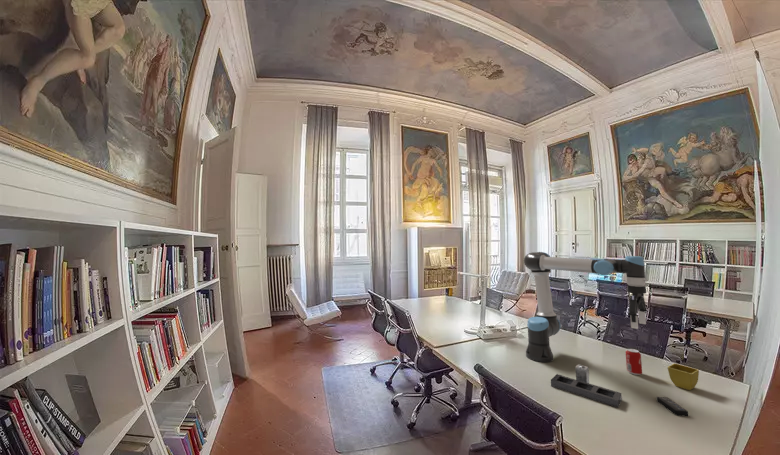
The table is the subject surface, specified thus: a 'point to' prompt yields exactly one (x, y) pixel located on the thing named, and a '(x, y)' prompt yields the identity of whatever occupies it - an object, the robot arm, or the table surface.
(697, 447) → the table surface
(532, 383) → the table surface
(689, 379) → the flower pot
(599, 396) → the rack rail
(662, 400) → the multiport hub
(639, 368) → the beverage can
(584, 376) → the block
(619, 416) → the table surface
